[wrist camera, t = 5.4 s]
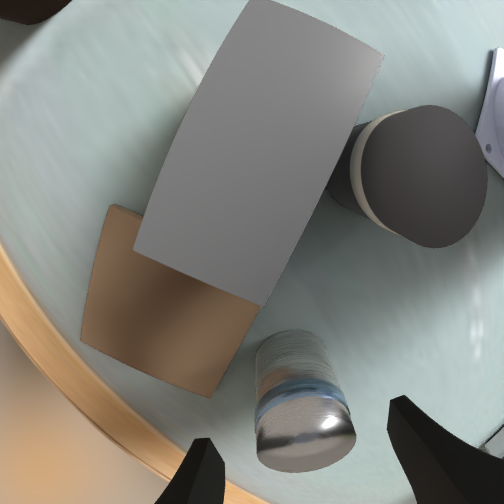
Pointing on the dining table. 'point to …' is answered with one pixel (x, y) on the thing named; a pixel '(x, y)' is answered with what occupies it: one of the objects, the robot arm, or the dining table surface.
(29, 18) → the coffee mug
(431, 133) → the banded grey cylinder
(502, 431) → the tea box
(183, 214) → the box
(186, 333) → the board
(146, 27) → the dining table surface
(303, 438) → the cylinder
